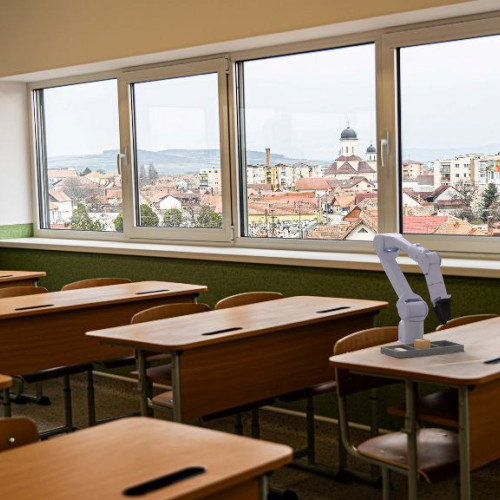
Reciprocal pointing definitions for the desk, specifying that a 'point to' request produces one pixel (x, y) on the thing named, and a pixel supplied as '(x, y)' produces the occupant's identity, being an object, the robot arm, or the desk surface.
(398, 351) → the eraser
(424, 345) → the letter cube
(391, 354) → the organizer
